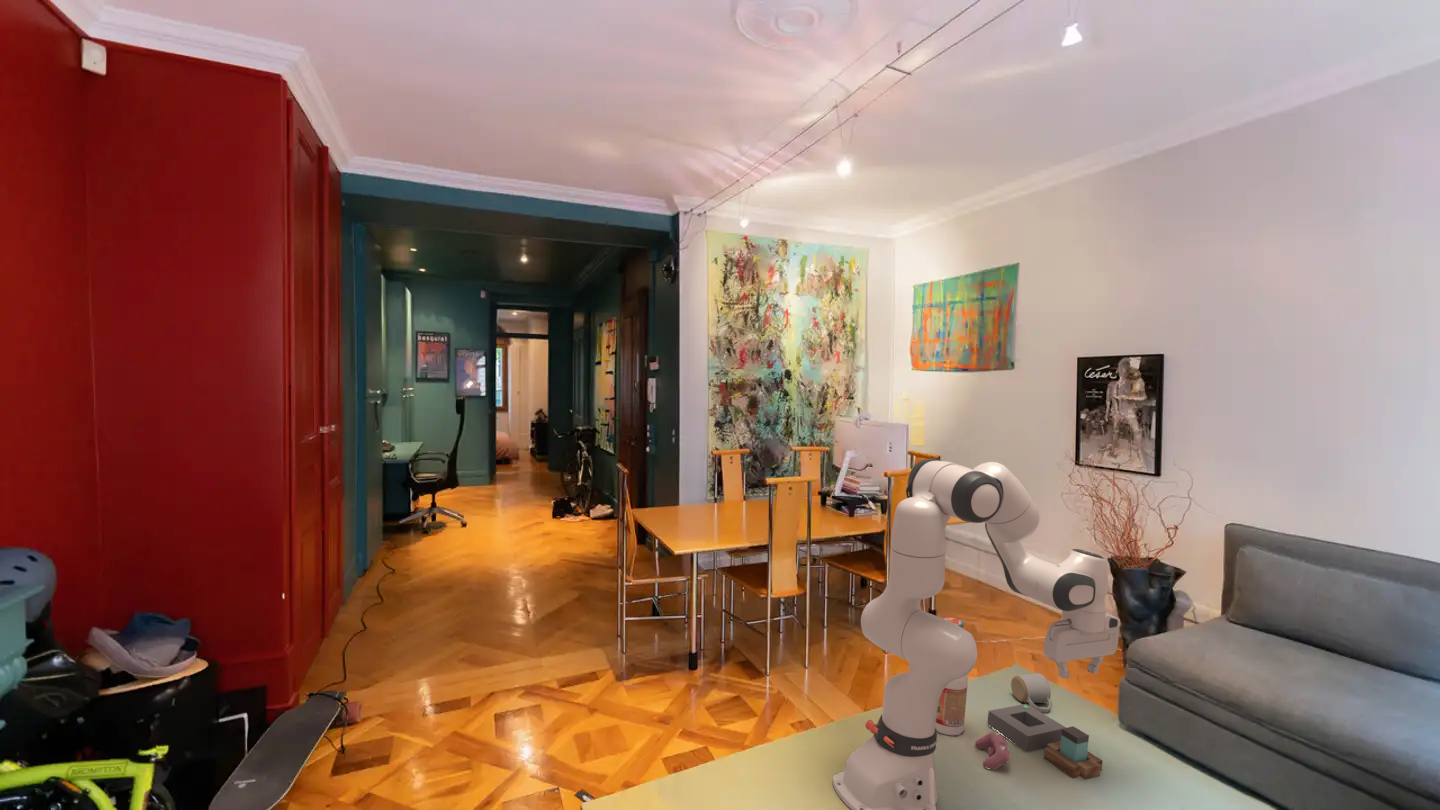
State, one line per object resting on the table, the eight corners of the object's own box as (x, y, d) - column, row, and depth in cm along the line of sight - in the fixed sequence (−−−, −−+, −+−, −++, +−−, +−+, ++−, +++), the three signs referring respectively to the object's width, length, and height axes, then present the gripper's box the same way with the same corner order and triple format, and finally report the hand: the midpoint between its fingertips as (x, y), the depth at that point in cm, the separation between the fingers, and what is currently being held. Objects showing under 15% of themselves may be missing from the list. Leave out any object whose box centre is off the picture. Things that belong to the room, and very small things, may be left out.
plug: (1074, 771, 140) (1077, 738, 140) (1058, 761, 143) (1061, 728, 143) (1085, 768, 141) (1088, 735, 141) (1070, 758, 145) (1073, 726, 145)
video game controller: (999, 779, 137) (1016, 755, 136) (981, 767, 138) (998, 743, 137) (989, 754, 147) (1005, 732, 146) (972, 743, 147) (988, 721, 147)
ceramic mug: (1007, 694, 176) (1010, 668, 175) (1032, 693, 177) (1034, 668, 177) (1032, 714, 165) (1035, 687, 165) (1058, 713, 167) (1061, 687, 166)
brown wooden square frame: (1077, 781, 136) (1078, 771, 136) (1039, 755, 145) (1040, 745, 145) (1106, 773, 140) (1107, 763, 140) (1067, 749, 149) (1068, 739, 149)
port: (1026, 752, 146) (1027, 735, 146) (987, 725, 157) (988, 709, 157) (1065, 743, 151) (1067, 726, 151) (1025, 718, 163) (1026, 702, 162)
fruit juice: (961, 741, 149) (971, 631, 148) (922, 728, 153) (931, 621, 153) (965, 723, 157) (974, 619, 156) (928, 712, 162) (937, 611, 161)
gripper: (1062, 627, 135) (1057, 686, 135) (1125, 619, 142) (1120, 676, 142) (1038, 616, 141) (1034, 673, 141) (1100, 609, 148) (1096, 663, 148)
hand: (1078, 674), depth 142 cm, fingers open, 8 cm apart
